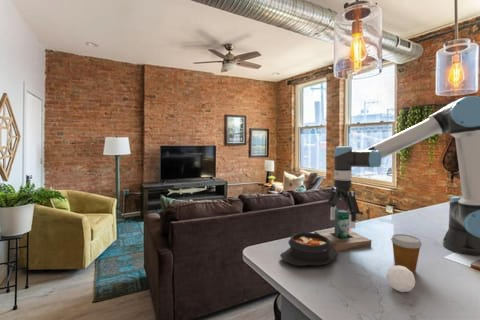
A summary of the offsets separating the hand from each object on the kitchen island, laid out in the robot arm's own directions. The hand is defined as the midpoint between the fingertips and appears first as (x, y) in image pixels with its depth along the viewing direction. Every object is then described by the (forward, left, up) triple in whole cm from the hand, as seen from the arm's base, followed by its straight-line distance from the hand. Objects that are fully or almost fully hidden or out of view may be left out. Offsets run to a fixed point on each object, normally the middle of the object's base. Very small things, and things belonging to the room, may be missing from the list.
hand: (342, 223), depth 123 cm
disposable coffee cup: (-30, -5, -9) cm, 32 cm away
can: (0, 0, -9) cm, 9 cm away
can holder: (0, 0, -9) cm, 9 cm away
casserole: (-12, +24, -9) cm, 28 cm away
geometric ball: (-40, +8, -9) cm, 42 cm away
